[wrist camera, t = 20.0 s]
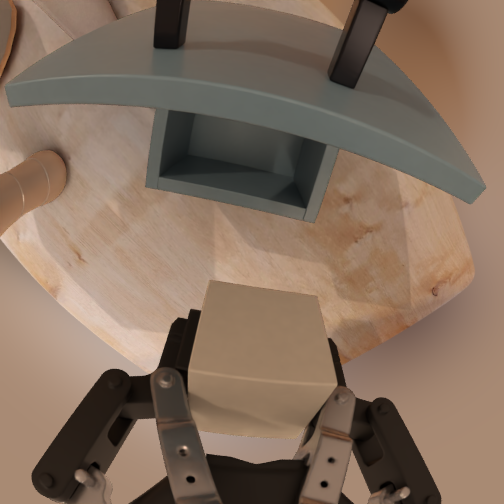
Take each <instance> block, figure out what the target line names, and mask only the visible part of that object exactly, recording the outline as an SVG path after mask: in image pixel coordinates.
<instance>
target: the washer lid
mask: <svg viewBox="0 0 504 504" xmlns="http://www.w3.org/2000/svg"><path fill="white" fill-rule="evenodd" d="M407 1H408V0H354V2H353V5H352V8H351V10H350V13H349V16H348V18H347V21H346V24H345V26H344V29H343V30H341V29H338V28H335V27H332V26H329V25H326V24H323V23H320V22H317V21H313V20H310V19H307V18H303V17H299V16H296V15H292V14H288V13H284V12H279V11H275V10H270V9H265V8H260V7H255V6H249V5H242V4H235V3H228V2H218V1H207V0H157V3H156V6H155V7H152V8H149V9H145V10H143V11H140V12H137V13H134V14H131V15H129V16H126V17H123V18H121V19H118V20H116V21H113V22H111V23H109V24H106V25H104V26H102V27H100V28H98V29H95V30H93V31H91V32H89V33H87V34H85V35H83V36H81V37H79V38H77V39H75V40H73V41H71V42H70V43H68V44H66V45H64V46H62V47H61V48H59V49H57V50H56V51H54V52H52V53H51V54H49V55H47V56H46V57H44V58H42V59H41V60H39V61H38V62H36V63H35V64H33V65H32V66H30V67H29V68H27V69H26V70H25V71H23V72H22V73H20V74H19V75H18V76H16V77H15V78H14V79H12V80H11V81H10V82H8V83H7V84H6V85H5V91H6V95H7V99H8V102H9V106H10V107H20V106H32V105H51V104H103V105H123V106H137V107H148V108H158V109H166V110H174V111H182V112H189V113H196V114H202V115H208V116H214V117H219V118H225V119H230V120H235V121H240V122H244V123H249V124H253V125H258V126H262V127H266V128H271V129H275V130H279V131H282V132H286V133H290V134H294V135H297V136H301V137H304V138H308V139H311V140H315V141H318V142H321V143H324V144H328V145H331V146H334V147H337V148H340V149H343V150H346V151H349V152H352V153H354V154H357V155H360V156H363V157H366V158H368V159H371V160H374V161H376V162H379V163H381V164H384V165H386V166H389V167H391V168H394V169H396V170H399V171H401V172H404V173H406V174H408V175H411V176H413V177H415V178H417V179H420V180H422V181H424V182H426V183H428V184H430V185H433V186H435V187H437V188H439V189H441V190H443V191H445V192H447V193H449V194H451V195H453V196H455V197H457V198H459V199H461V200H463V201H464V202H466V203H468V204H472V203H473V202H474V201H475V200H476V199H477V198H478V197H479V196H480V195H481V193H482V192H483V191H484V190H485V189H486V185H485V183H484V181H483V180H482V178H481V176H480V174H479V173H478V171H477V169H476V167H475V166H474V164H473V163H472V161H471V159H470V158H469V156H468V154H467V153H466V151H465V150H464V148H463V147H462V146H461V144H460V142H459V141H458V139H457V138H456V136H455V135H454V133H453V132H452V131H451V129H450V128H449V127H448V125H447V124H446V122H445V121H444V120H443V118H442V117H441V116H440V114H439V113H438V112H437V111H436V109H435V108H434V107H433V106H432V104H431V103H430V102H429V101H428V100H427V98H426V97H425V96H424V95H423V94H422V92H421V91H420V90H419V89H418V88H417V87H416V86H415V85H414V83H413V82H412V81H411V80H410V79H409V78H408V77H407V76H406V75H405V74H404V73H403V72H402V71H401V70H400V68H399V67H398V66H396V64H394V63H393V62H392V60H390V59H389V58H388V57H387V56H386V55H385V54H384V53H383V52H382V51H381V50H380V49H379V48H378V47H377V46H375V45H374V44H375V41H376V39H377V36H378V34H379V32H380V29H381V27H382V25H383V23H384V20H385V18H386V16H387V13H389V14H393V13H396V12H398V11H399V10H400V9H401V8H402V7H403V6H404V5H405V4H406V3H407Z"/></svg>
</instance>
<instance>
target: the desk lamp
mask: <svg viewBox="0 0 504 504" xmlns="http://www.w3.org/2000/svg"><path fill="white" fill-rule="evenodd" d="M16 13H17V10H16V8H15V6H14V4H13V1H12V0H0V78H1V75H2V72H3V69H4V67H5V64H6V62H7V59H8V57H9V55H10V51H11V47H12V43H13V39H14V35H15V31H16Z"/></svg>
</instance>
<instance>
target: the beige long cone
mask: <svg viewBox="0 0 504 504" xmlns="http://www.w3.org/2000/svg"><path fill="white" fill-rule="evenodd" d="M32 1H34V2H35V3H36V4H37V5H38V6H39V7H40V8H41V9H42V10H43V11H44V12H45V13H46V14H47V15H48V16H49V17H50V18H51V19H52V20H54V21H55V22H56V23H57V24H58V25H59V26H60V27H61V28H62V29H63V30H64V31H65V32H66V33H67V34H68V35H69V36H70V37H71V38H72V39H73V40H75V39H77V38H79V37H81V36H83V35H85V34H87V33H89V32H91V31H93V30H95V29H98V28H100V27H102V26H104V25H106V24H109V23H111V22H113V21H116V20H117V18H116V16H115V14H114V12H113V10H112V8H111V6H110V4H109V2H108V0H32Z"/></svg>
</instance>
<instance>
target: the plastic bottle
mask: <svg viewBox="0 0 504 504" xmlns="http://www.w3.org/2000/svg"><path fill="white" fill-rule="evenodd" d="M66 177H67V174H66V167H65V164H64V162H63V160H62V158H61V157H60V156H59V155H58V154H56V153H55V152H53V151H50V150H45V151H39V152H36V153H34V154H33V155H31V156H30V157H28V158H27V159H26V160H25V161H24V162H22V163H20V164H19V165H17V166H16V167H14V168H12V169H11V170H9V171H7V172H4V173H3V174H0V237H1V236H2V234H3V233H4V232H5V231H6V230H7V229H8V228H9V227H10V226H11V225H12V224H13V223H15V222H16V221H17V220H18V219H19V218H20V217H22V216H23V215H24V214H26V213H28V212H29V211H31V210H33V209H35V208H37V207H39V206H42V205H45V204H47V203H50V202H52V201H53V200H55V199H56V198H57V197H58V196H59V195H60V194H61V192H62V191H63V189H64V187H65V183H66Z"/></svg>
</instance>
